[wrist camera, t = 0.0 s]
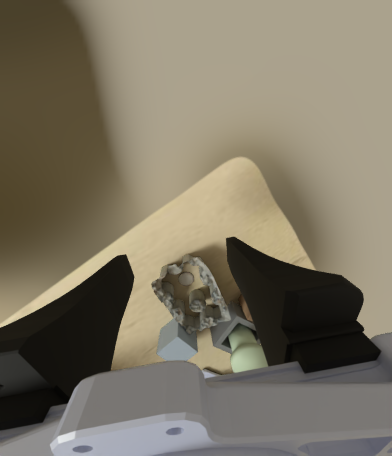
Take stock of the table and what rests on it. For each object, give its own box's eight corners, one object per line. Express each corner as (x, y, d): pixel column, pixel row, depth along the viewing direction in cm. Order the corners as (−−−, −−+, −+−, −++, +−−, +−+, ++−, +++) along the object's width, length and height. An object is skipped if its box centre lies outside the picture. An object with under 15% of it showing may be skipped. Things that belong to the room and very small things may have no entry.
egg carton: (153, 267, 24) (146, 283, 20) (201, 246, 24) (204, 258, 20) (184, 321, 27) (183, 345, 23) (227, 303, 26) (235, 325, 22)
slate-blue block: (178, 342, 28) (177, 368, 24) (160, 329, 27) (156, 353, 23) (195, 328, 27) (197, 352, 23) (178, 313, 26) (177, 336, 22)
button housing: (239, 342, 28) (245, 360, 25) (210, 328, 27) (213, 346, 24) (260, 316, 27) (270, 332, 24) (231, 301, 26) (237, 315, 23)
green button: (242, 349, 26) (254, 382, 22) (217, 338, 25) (224, 370, 21) (261, 327, 25) (277, 357, 21) (235, 315, 24) (246, 343, 20)
